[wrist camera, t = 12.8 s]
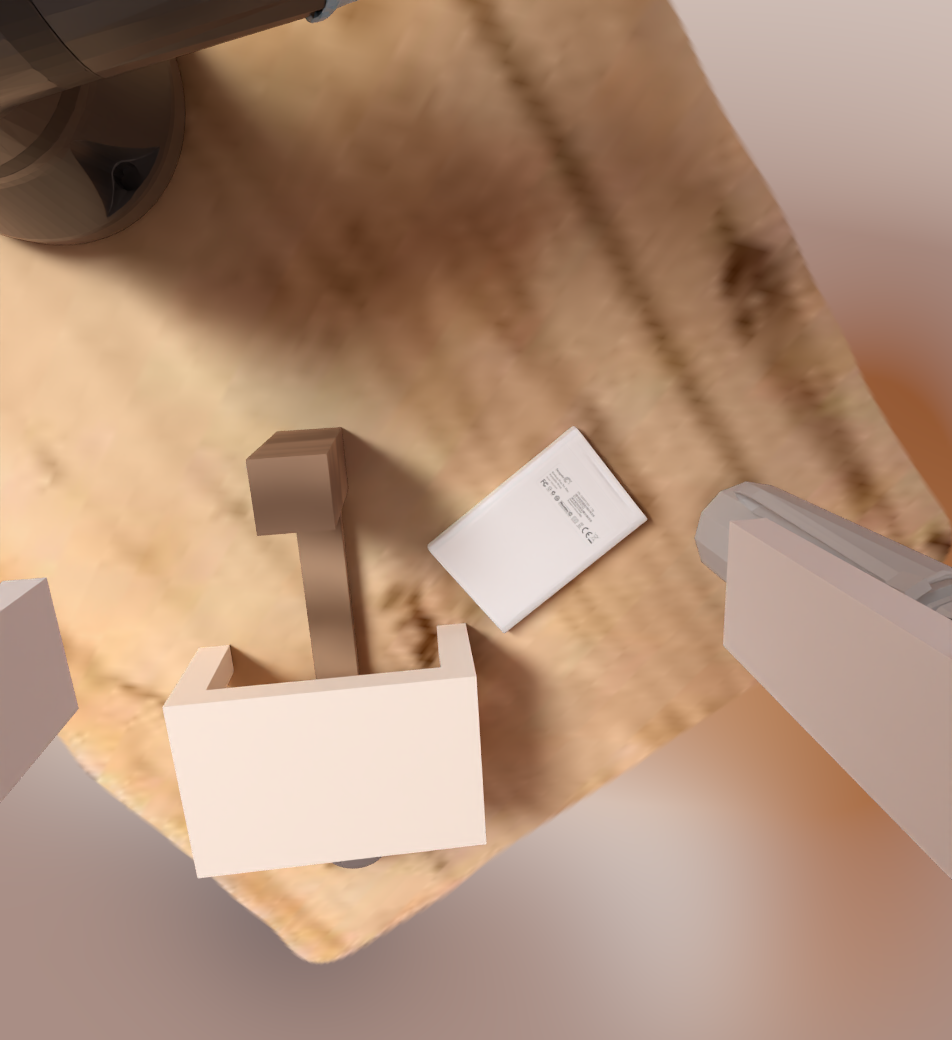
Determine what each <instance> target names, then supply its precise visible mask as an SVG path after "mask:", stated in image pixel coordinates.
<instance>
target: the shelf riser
mask: <svg viewBox="0 0 952 1040" xmlns="http://www.w3.org/2000/svg"><path fill="white" fill-rule="evenodd" d="M437 636H438V649H439V660H440V668H429V669H419V670H409V671H398V672H388V673H378V674H368V675H357V676H347V677H337V678H326V679H316V680H306V681H295V682H285V683H275V684H265V685H254V686H244V687H234V688H226V687H227V685H228V683H229V681H230V679H231V677H232V675H233V673H234V668H233V662H232V656H231V650H230V645H223V646H212V647H201V648H199V649H198V650H197V652H196V654H195V655H194V657H193V659H192V660H191V662H190V663H189V665H188V667H187V668H186V670H185V672H184V673H183V675H182V676H181V678H180V680H179V681H178V683H177V684H176V686H175V688H174V689H173V691H172V693H171V694H170V696H169V697H168V699H167V701H166V702H165V704H164V706H163V712H164V717H165V722H166V727H167V731H168V736H169V741H170V746H171V751H172V756H173V761H174V765H175V770H176V775H177V780H178V785H179V790H180V795H181V800H182V804H183V809H184V814H185V819H186V824H187V829H188V834H189V839H190V843H191V848H192V853H193V858H194V863H195V868H196V873H197V877H198V878H203V877H212V876H220V875H229V874H237V873H246V872H254V871H263V870H271V869H280V868H288V867H297V866H305V865H313V864H322V863H330V862H339V861H347V860H356V859H364V858H373V857H381V856H390V855H398V854H406V853H415V852H423V851H432V850H440V849H449V848H457V847H466V846H474V845H483V844H486V828H485V812H484V795H483V778H482V762H481V745H480V728H479V712H478V695H477V678H476V672H475V667H474V662H473V657H472V652H471V648H470V643H469V638H468V633H467V628H466V623H461V624H450V625H440V626H437Z"/></svg>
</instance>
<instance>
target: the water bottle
mask: <svg viewBox="0 0 952 1040" xmlns="http://www.w3.org/2000/svg"><path fill="white" fill-rule="evenodd" d="M760 518H767V519H769V520H771V521H773V522H774V523H776V524H778V525H780V526H782V527H784V528H785V529H787V530H789V531H791V532H793V533H794V534H796V535H798V536H800V537H802V538H803V539H805V540H807V541H809V542H811V543H813V544H814V545H816V546H818V547H820V548H822V549H823V550H825V551H827V552H829V553H831V554H832V555H834V556H836V557H838V558H840V559H842V560H843V561H845V562H847V563H849V564H851V565H852V566H854V567H856V568H858V569H860V570H861V571H863V572H865V573H867V574H869V575H871V576H872V577H874V578H876V579H878V580H880V581H881V582H883V583H885V584H887V585H889V586H891V587H892V588H894V589H896V590H898V591H900V592H901V593H903V594H905V595H907V596H909V597H910V598H912V599H914V600H916V601H918V602H920V603H921V604H923V605H925V606H927V607H929V608H930V609H932V610H934V611H936V612H938V613H939V614H941V615H943V616H945V617H948V618H951V619H952V567H950V566H948V565H946V564H943V563H941V562H939V561H937V560H935V559H932V558H930V557H928V556H926V555H924V554H921V553H919V552H917V551H915V550H913V549H910V548H908V547H906V546H904V545H902V544H899V543H897V542H895V541H893V540H891V539H888V538H886V537H884V536H882V535H880V534H877V533H875V532H873V531H871V530H869V529H866V528H864V527H862V526H860V525H858V524H855V523H853V522H851V521H849V520H847V519H844V518H842V517H840V516H838V515H836V514H833V513H831V512H829V511H827V510H825V509H822V508H820V507H818V506H816V505H814V504H811V503H809V502H807V501H805V500H803V499H800V498H798V497H796V496H794V495H792V494H789V493H787V492H785V491H783V490H781V489H778V488H776V487H774V486H772V485H766V484H759V483H753V482H743V483H741V484H738V485H736V486H733V487H730V488H728V489H725V490H723V491H720V492H719V493H718V495H717V496H716V497H715V498H714V499H713V500H712V501H711V502H710V503H709V504H708V506H707V507H706V508H705V509H704V510H703V511H702V512H701V516H700V520H699V524H698V527H697V531H696V535H695V541H696V545H697V548H698V551H699V555H700V558H701V562H702V563H703V564H705V565H706V566H707V567H708V568H709V569H711V570H712V571H713V572H714V573H715V574H716V575H718V576H719V577H720V578H721V579H722V580H724V581H725V582H726V581H727V561H728V542H729V522H730V521H736V520H748V519H760Z"/></svg>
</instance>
